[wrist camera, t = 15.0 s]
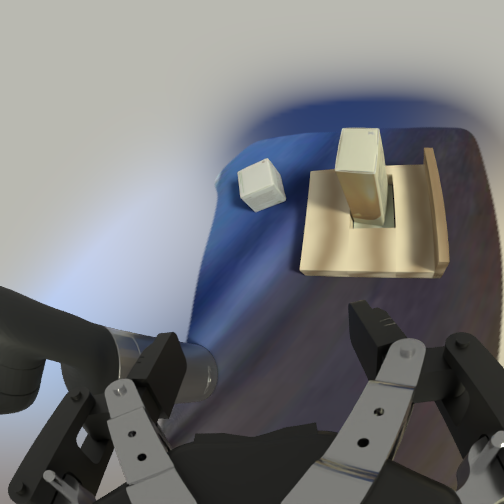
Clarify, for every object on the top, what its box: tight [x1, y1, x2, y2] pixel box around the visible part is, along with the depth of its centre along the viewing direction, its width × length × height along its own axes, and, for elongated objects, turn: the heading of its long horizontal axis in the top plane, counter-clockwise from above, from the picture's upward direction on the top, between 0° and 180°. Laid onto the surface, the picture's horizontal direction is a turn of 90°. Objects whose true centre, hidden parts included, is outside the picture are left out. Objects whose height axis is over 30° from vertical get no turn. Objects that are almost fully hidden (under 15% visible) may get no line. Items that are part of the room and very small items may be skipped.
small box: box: [238, 158, 286, 212], centre depth 43 cm, size 6×6×5 cm
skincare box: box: [335, 128, 388, 226], centre depth 30 cm, size 6×4×12 cm
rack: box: [300, 148, 449, 278], centre depth 32 cm, size 18×15×6 cm
